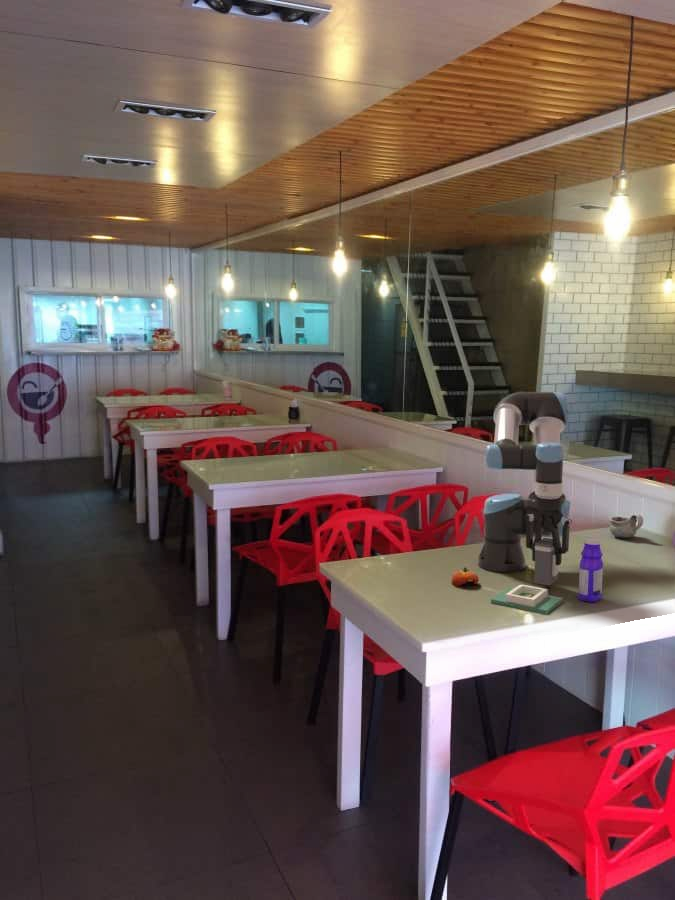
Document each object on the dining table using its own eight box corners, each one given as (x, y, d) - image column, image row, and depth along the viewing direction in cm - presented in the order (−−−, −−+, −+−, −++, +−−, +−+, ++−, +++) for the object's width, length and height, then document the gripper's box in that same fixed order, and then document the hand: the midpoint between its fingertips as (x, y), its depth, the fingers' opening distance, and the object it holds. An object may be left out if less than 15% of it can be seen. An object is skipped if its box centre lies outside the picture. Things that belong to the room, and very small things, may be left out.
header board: (490, 602, 202) (491, 592, 202) (508, 591, 212) (508, 581, 212) (546, 614, 193) (547, 603, 193) (562, 601, 203) (562, 591, 202)
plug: (534, 582, 213) (535, 543, 211) (543, 575, 219) (544, 537, 218) (549, 585, 211) (550, 545, 209) (558, 578, 217) (559, 539, 215)
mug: (617, 533, 278) (618, 507, 277) (649, 539, 269) (650, 512, 268) (604, 537, 272) (605, 511, 271) (636, 543, 263) (637, 516, 261)
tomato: (486, 578, 219) (475, 564, 216) (478, 597, 216) (467, 583, 212) (463, 577, 225) (452, 563, 221) (456, 596, 221) (445, 582, 217)
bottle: (584, 593, 209) (586, 534, 207) (604, 597, 205) (607, 537, 203) (575, 600, 203) (577, 539, 201) (595, 604, 200) (597, 543, 198)
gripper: (514, 495, 213) (513, 571, 217) (574, 502, 203) (571, 582, 206) (524, 490, 219) (522, 565, 222) (582, 497, 209) (580, 575, 212)
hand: (546, 573), depth 214 cm, fingers closed on plug, 4 cm apart
